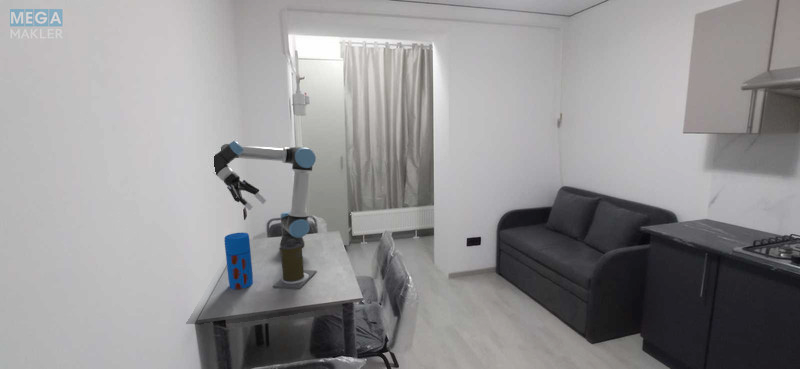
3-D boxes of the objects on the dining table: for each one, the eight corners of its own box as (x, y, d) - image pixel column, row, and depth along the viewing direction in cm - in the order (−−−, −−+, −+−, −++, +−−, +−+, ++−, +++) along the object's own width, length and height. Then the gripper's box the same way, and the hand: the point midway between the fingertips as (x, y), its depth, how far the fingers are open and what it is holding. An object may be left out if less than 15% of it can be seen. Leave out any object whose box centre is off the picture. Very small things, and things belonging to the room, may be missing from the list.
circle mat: (292, 270, 189) (291, 269, 188) (316, 272, 186) (316, 270, 186) (272, 287, 169) (272, 285, 169) (300, 289, 167) (299, 287, 167)
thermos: (236, 279, 179) (231, 232, 175) (256, 279, 178) (252, 232, 174) (225, 289, 168) (219, 239, 164) (247, 289, 168) (242, 239, 163)
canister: (297, 282, 172) (295, 243, 168) (278, 281, 174) (275, 242, 171) (308, 273, 182) (305, 236, 179) (290, 272, 184) (287, 235, 181)
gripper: (238, 178, 199) (265, 204, 200) (209, 186, 175) (240, 216, 175) (246, 168, 197) (273, 195, 198) (218, 175, 173) (249, 205, 174)
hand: (258, 205), depth 187 cm, fingers open, 13 cm apart
